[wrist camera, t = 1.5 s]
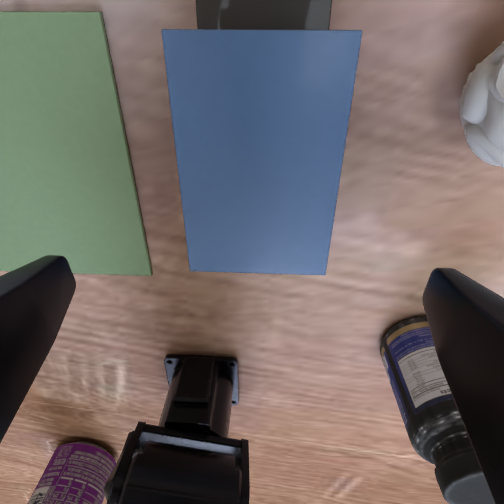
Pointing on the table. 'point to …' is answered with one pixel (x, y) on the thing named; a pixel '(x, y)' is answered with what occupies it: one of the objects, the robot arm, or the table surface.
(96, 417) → the table surface
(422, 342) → the pill bottle
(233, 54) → the blue book
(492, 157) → the frog figurine
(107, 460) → the beverage can
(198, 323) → the table surface
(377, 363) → the table surface
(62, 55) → the green mat
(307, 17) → the black notebook
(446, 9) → the table surface
